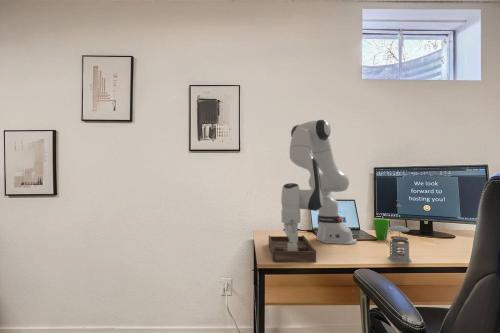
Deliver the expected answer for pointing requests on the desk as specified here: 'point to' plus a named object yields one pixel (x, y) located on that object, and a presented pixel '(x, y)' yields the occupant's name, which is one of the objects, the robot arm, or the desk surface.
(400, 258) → the french press
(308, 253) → the dark brown rimmed tray
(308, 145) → the robot arm
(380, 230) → the cup
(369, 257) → the desk surface
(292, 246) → the block
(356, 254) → the desk surface
